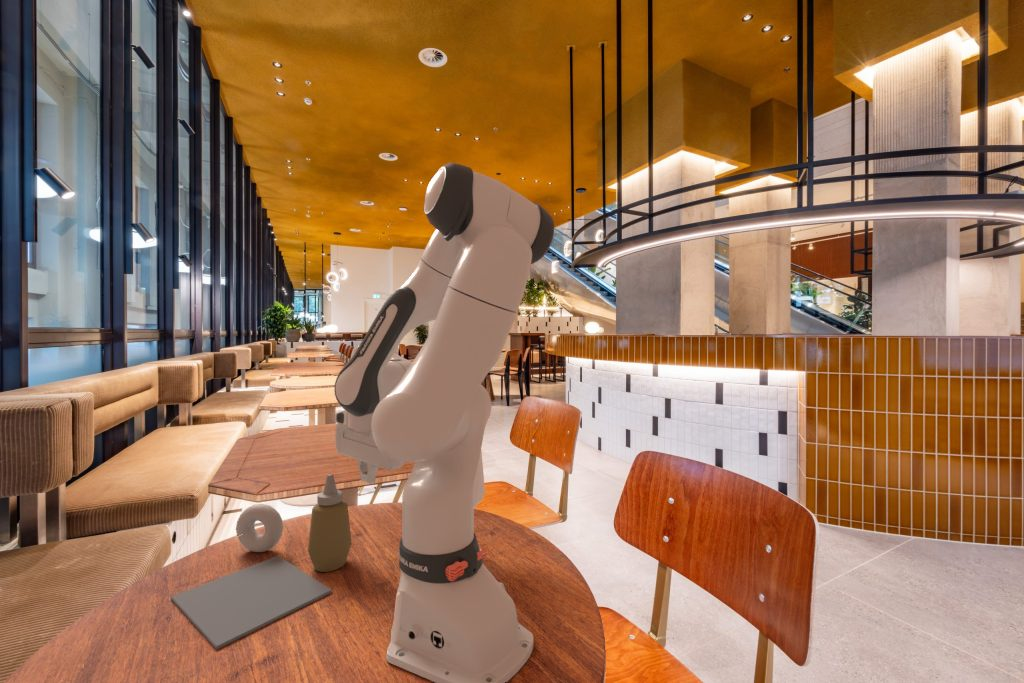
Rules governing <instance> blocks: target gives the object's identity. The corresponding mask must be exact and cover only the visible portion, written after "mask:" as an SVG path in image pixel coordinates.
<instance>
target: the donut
mask: <svg viewBox="0 0 1024 683" xmlns="http://www.w3.org/2000/svg"><path fill="white" fill-rule="evenodd" d="M256 522H260V523H262V525H263V527H264V533H263V534H259V533H258V532H257V531H256V527H255V523H256ZM235 530H236V532H235V533H236V537H237V536H239V535H241V534H243V535H241V536H239V537H237V539H238V541H239V543H240V544H241V545H242V546H243V548H244V549H246V550H248V551H250V552H253V553H263V552H264V553H265V552H267V551H269V550H271V549H273V548H274V547H275V546H276V545H277V544H278V543H279V542H280V540H281V537H282V535H283V531H284V523H283V519H282V517H281V514H280V513H279V511H278V510H277V509H276V508H274V507H273V506H271V505H269V504H265V503H258V504H257V503H256V504H251V505H250V506H249V507H246V509H244V510H243V511H242V513H241V514H240V515H239V517H238V519H237V521H236V527H235Z"/></svg>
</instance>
